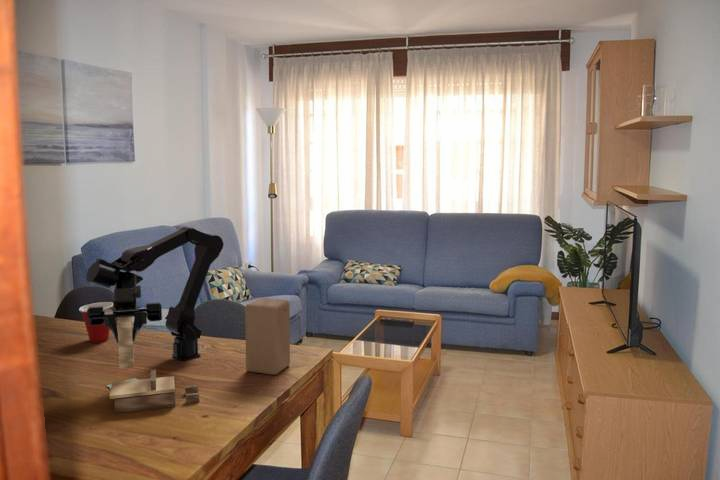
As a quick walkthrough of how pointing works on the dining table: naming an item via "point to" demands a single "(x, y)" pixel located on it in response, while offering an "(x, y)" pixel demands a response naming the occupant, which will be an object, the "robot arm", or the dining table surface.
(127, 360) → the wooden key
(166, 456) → the dining table surface
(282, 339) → the wooden block
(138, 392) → the lid
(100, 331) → the plastic cup
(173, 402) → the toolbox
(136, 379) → the felt pad
